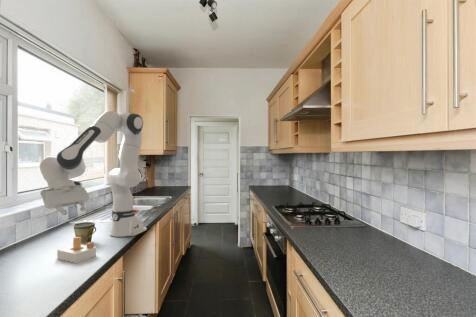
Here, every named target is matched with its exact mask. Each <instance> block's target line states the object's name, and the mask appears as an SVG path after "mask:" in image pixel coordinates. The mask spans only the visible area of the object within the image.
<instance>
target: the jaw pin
mask: <svg viewBox="0 0 476 317" xmlns="http://www.w3.org/2000/svg"><path fill="white" fill-rule="evenodd" d="M72 241H73V244H72V245H73V250H75V251H77V250H80V249H81V237H76V236H74V237H73V240H72Z"/></svg>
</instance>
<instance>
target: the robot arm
mask: <svg viewBox="0 0 476 317" xmlns="http://www.w3.org/2000/svg"><path fill="white" fill-rule="evenodd" d="M143 126H144V121H143V117H142V116H141V115H139V114H137V113H130V112H122V113H119V112H118V113H117V112H116V111H114V110H106V111H104V112H103V113H102V114H101V115H100V116H98V118H97V119H96V120H95V121H94V122H93V124H91V125H90V126H89V127H88V128H86V129H85V130H84V131H83V132H82V133H81V134H80V135H79V136H78V137H77V138H76V139H75V140H74V141H72V143H70V144H69V145H66V146H65V147H63V148H61V149H60V150H59V152H57V154H56V156H52V155H51V156H47V157H46V158H44V159H43V160H42V161H41V162H40V163H39V169H40V173H41V175H42V177H43V179H44V180H45V181H46V183H47V187H48V188H46V189H42V190H41V191H40V193H39V194H40V196H41V198H42V202H43V204H44V206H45V208H46V209H47V210H51V209H55V210H56V211H58V212H59V213H60V214H61V215H62V216H65V215H67V214H68V210H67V209H64V207H69V206H75V205H79V206H80V208H79V211H80V212H84V211H85V212H86V203H87V202H89V200H90V195H89V192H87V190H86V188H85V187H83V183H82V182H80V181H77V180H72V179H74V178H77V177H80V176H82V175H83V174H84V173H85V171H86V168H87V167H86V165H85V161H84V158H83V157H84V153H85V151H86V150H87V149H88V148H89V147H90V146H91V145H92V144H93V143H94V142H96V143H107V141H109V140H110V139H111V138H112V137H113V136H114V134H115V133H116V132H121V133H123V137H122V141H121V144H120V148H119V153H118V160H119V167H118V168H117V167H115V168H113V169H112V170H110V171H109V172H108V173H107V180H108V182H109V184H110V189H111V194H112V209H111V210H112V211H111V218H112V219H111V224H110V226H111V227H110V230H109V236H111V237H117V238H119V237H120V238H121V237H122V238H123V237H134V236H136V235H139V234H142V233H144V232H145V231H147V230H148V229H147V227H145V226H144V223H143V222H144V221H143V220H142V219H141V218H140V217H138V216H137V215H136V213H138V212H139V210H138V209H136V208H135V209H134V196H133V194H132V192H131V188H134V187H137V186H138V185H139V184H140V182H141V174H140V173H139V163H138V162H139V157H140V152H141V151H140V150H141V148H142V147H141V146H142V139H143V136H142V135H143V134H142V130H143Z"/></svg>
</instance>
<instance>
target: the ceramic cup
mask: <svg viewBox="0 0 476 317" xmlns="http://www.w3.org/2000/svg"><path fill="white" fill-rule="evenodd" d="M95 225H96V223H95V222H92V221H84V222H83V221H82V222H78V223H74V224H73V232H74V234H75V236H74V237H81V244H82V245H87V243H89V242H92V238H93V235H94V233H95V232H96V231H97V228H96V226H95Z"/></svg>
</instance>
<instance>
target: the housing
mask: <svg viewBox="0 0 476 317" xmlns="http://www.w3.org/2000/svg"><path fill="white" fill-rule="evenodd" d="M56 256H57V257H56V258H57V260H60V261H64V260H65V261H64V262H68V261H69V262H70V263H74V264H79V263H81V262H84V261H86V260H88V259H89V260H90V259H91V257H92V258H94V257H96V256H97V247H96V246H94V242H93V241H91V242H89V243H87V244H86V245H82V244H81V249H80V250H77V251H75V250H73V244H72V245H68V246H66V247H65V246H64V247H63V248H59V249H57V254H56ZM69 262H68V263H69Z"/></svg>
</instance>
